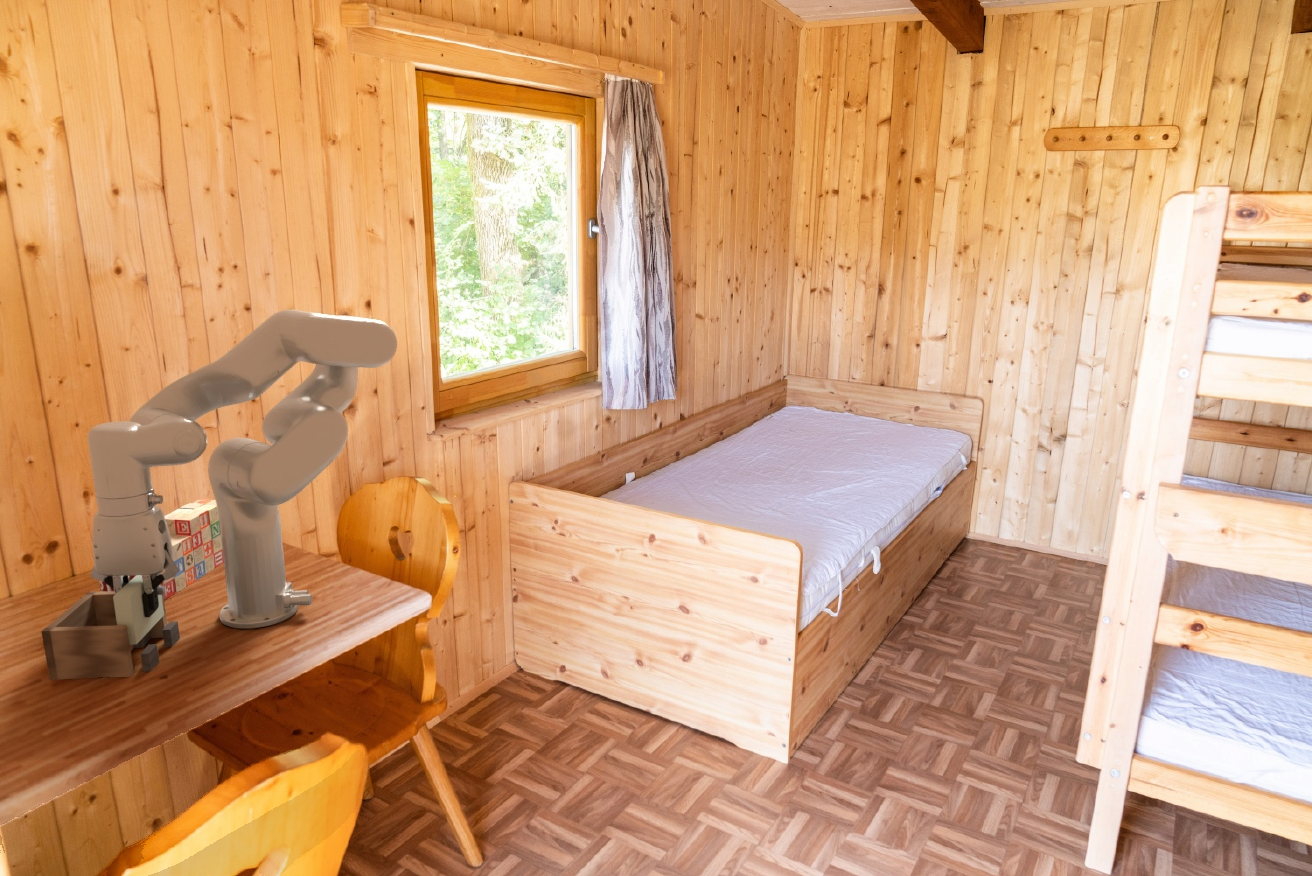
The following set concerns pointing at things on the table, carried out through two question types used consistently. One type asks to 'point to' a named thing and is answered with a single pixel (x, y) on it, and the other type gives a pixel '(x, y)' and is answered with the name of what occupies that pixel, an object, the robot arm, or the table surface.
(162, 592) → the door
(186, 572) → the stack of blocks
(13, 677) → the table surface
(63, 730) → the table surface
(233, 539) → the robot arm
